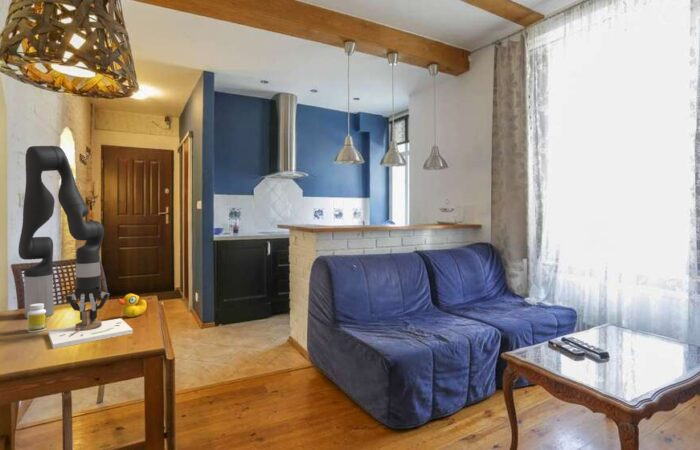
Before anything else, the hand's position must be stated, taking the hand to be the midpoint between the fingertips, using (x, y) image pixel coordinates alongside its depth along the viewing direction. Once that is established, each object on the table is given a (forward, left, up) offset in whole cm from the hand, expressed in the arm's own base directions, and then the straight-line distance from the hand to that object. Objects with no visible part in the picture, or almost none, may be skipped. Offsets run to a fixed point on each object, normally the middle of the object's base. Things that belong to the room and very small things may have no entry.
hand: (88, 320), depth 138 cm
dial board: (+4, 0, -4) cm, 6 cm away
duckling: (-10, +17, -4) cm, 20 cm away
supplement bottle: (-13, -14, -4) cm, 20 cm away
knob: (+2, -1, -2) cm, 3 cm away
